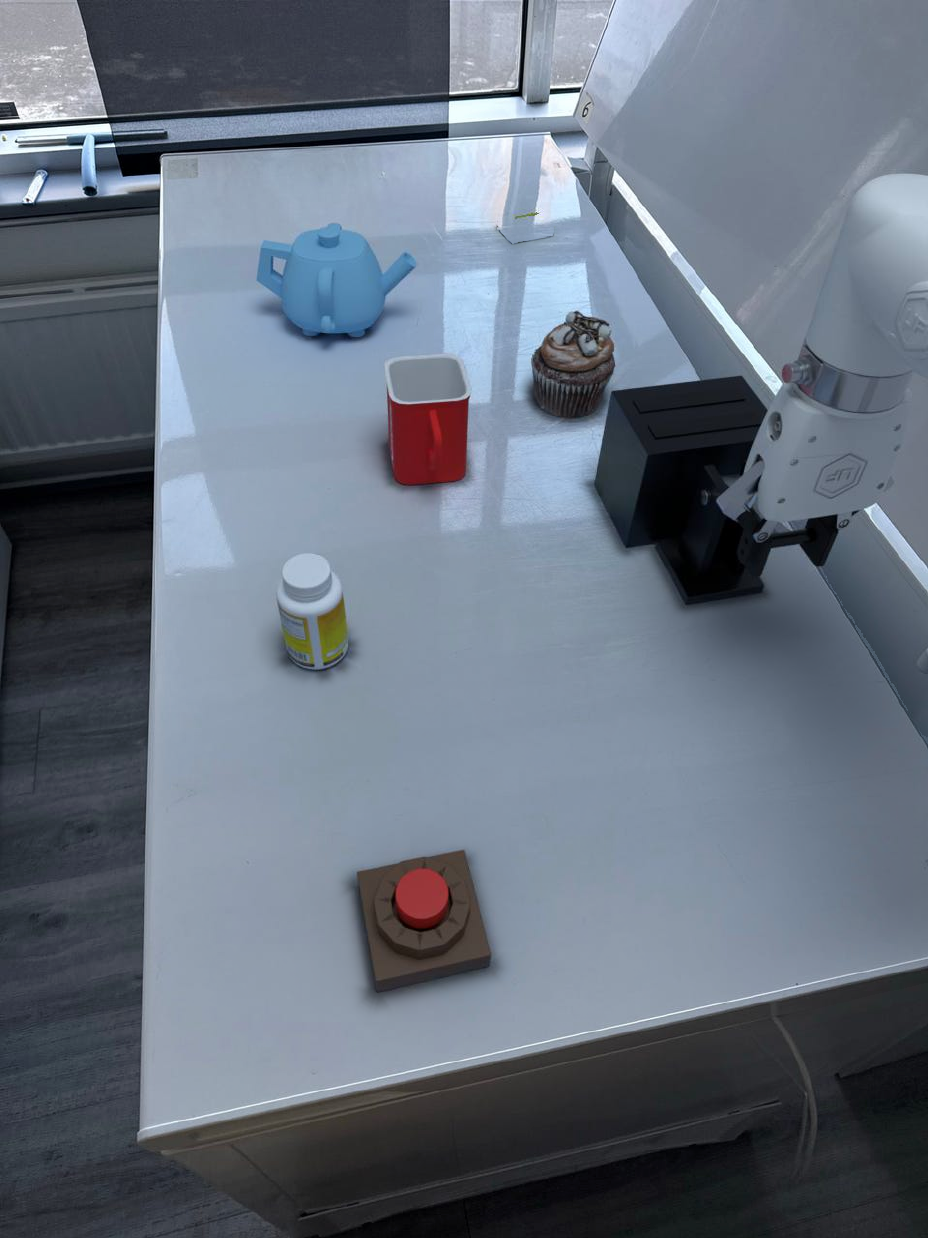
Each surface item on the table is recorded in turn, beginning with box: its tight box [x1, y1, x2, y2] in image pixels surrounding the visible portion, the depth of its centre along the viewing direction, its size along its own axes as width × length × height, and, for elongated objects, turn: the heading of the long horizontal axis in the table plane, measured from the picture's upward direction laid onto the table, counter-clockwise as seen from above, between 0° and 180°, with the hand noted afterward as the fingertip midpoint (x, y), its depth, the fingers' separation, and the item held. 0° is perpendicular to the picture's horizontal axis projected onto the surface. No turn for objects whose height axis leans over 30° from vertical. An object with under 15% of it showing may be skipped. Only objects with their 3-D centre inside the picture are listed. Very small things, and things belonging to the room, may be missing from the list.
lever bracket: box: [655, 460, 765, 605], centre depth 85 cm, size 8×8×12 cm
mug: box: [383, 353, 472, 486], centre depth 93 cm, size 12×8×11 cm
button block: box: [356, 849, 492, 993], centre depth 63 cm, size 8×8×4 cm
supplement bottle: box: [275, 553, 349, 670], centre depth 77 cm, size 6×6×10 cm
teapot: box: [256, 222, 418, 338], centre depth 112 cm, size 20×17×12 cm
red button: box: [395, 868, 449, 929], centre depth 61 cm, size 4×4×2 cm
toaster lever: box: [721, 474, 817, 550], centre depth 78 cm, size 11×5×2 cm, turn 13°
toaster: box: [593, 375, 768, 548], centre depth 90 cm, size 10×14×12 cm
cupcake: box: [530, 310, 616, 419], centre depth 103 cm, size 10×10×10 cm
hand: (780, 558), depth 75 cm, fingers closed on toaster lever, 5 cm apart
